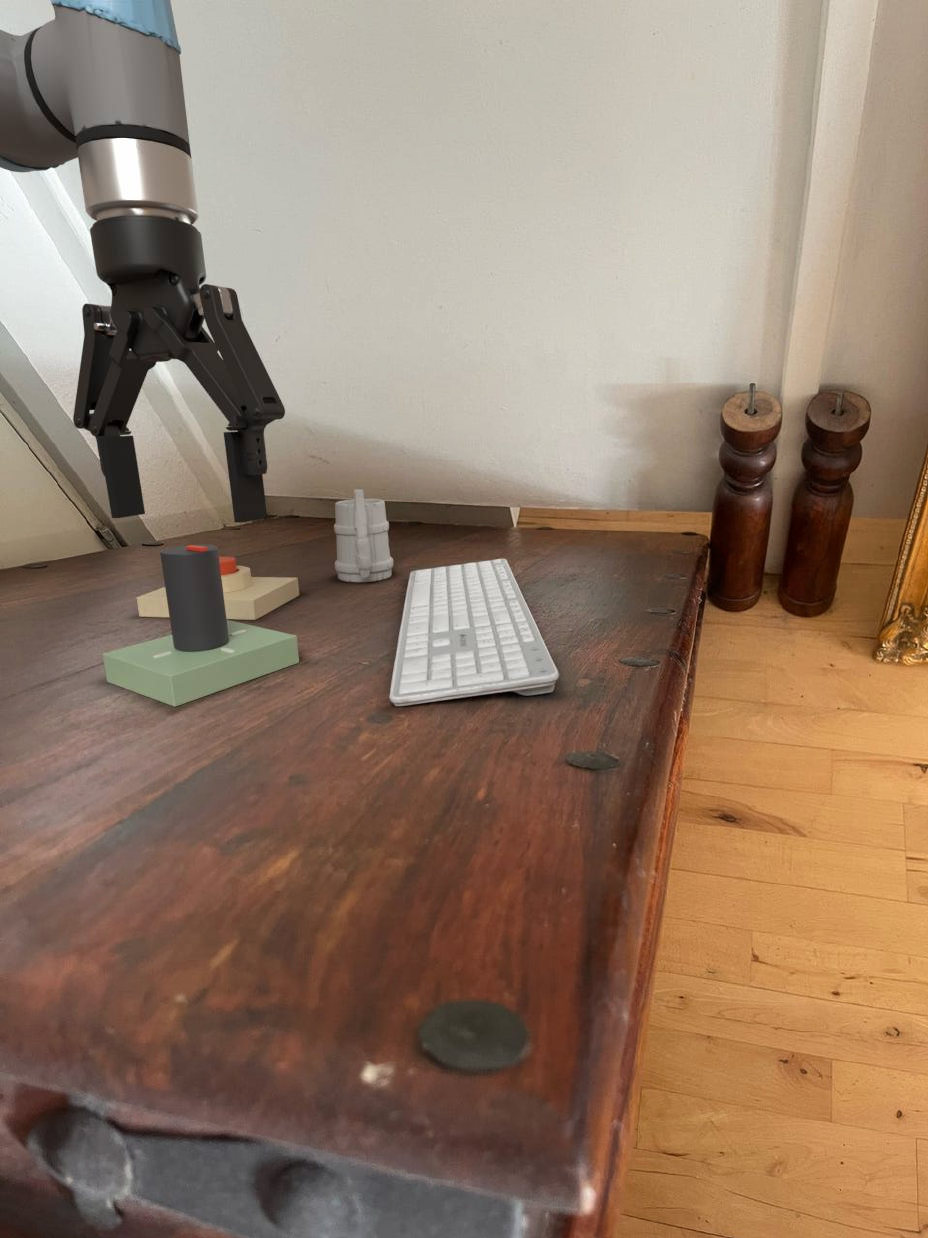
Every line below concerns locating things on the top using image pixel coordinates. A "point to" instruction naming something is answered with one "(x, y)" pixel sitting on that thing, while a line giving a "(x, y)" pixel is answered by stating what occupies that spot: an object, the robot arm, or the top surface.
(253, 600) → the button base
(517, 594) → the keyboard
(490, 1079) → the top surface
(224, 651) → the dial panel
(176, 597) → the dial
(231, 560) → the switch
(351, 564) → the mug
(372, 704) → the top surface
